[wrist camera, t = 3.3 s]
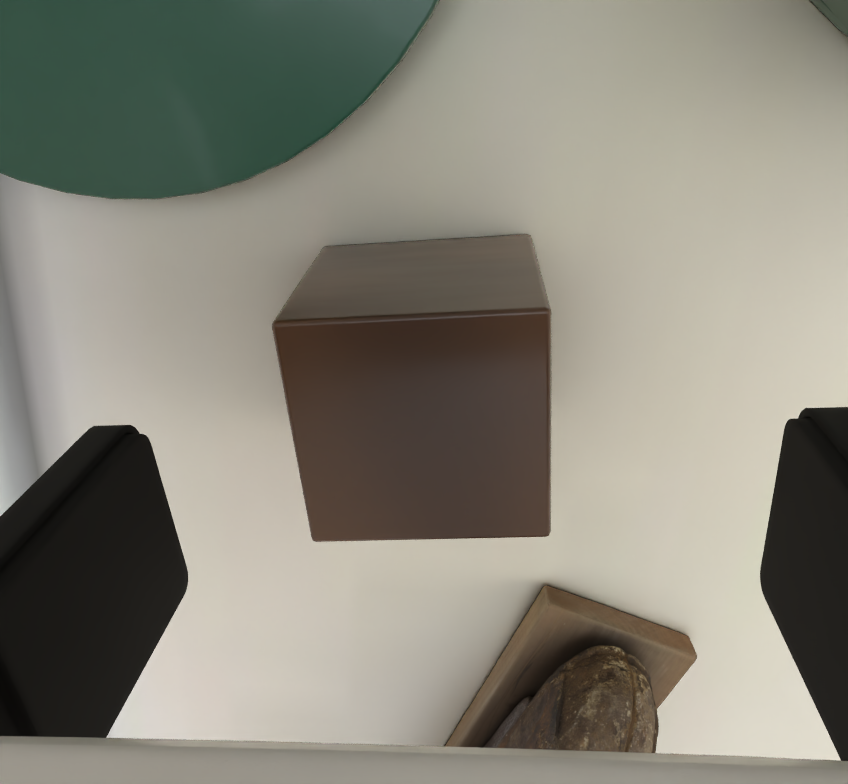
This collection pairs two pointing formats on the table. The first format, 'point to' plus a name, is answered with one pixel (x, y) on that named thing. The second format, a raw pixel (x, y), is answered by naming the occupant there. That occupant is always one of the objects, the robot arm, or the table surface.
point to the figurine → (577, 681)
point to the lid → (185, 86)
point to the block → (421, 390)
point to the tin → (835, 12)
